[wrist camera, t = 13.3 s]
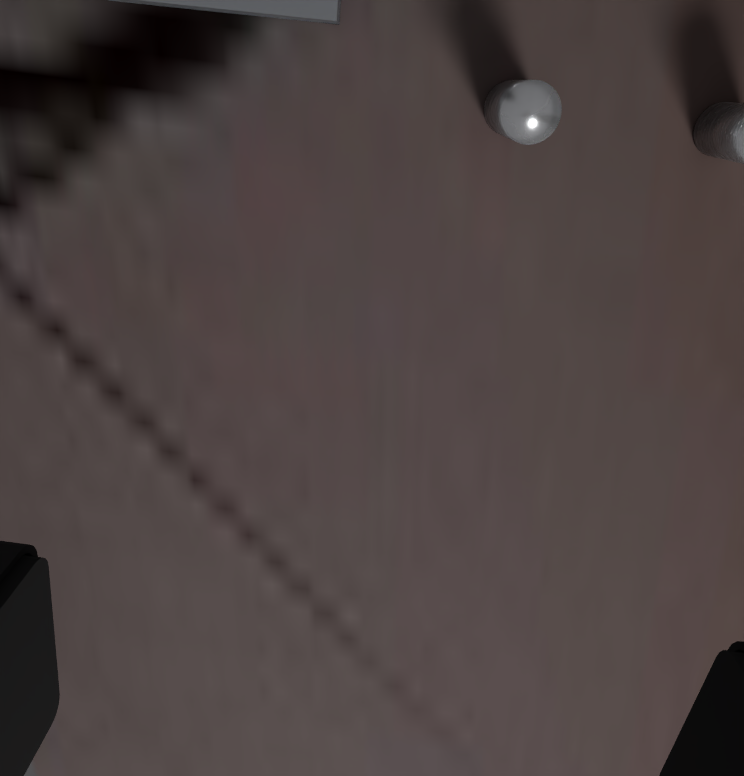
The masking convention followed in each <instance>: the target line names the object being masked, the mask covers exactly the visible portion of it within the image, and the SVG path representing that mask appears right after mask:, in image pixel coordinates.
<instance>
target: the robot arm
mask: <svg viewBox="0 0 744 776" xmlns="http://www.w3.org/2000/svg"><path fill="white" fill-rule="evenodd" d="M59 695H60V693H59V682H58V670H57V659H56V647H55V635H54V624H53V612H52V601H51V589H50V578H49V566H48V562H47V560H46V559H45V558H41V557H38V555H37V551H36V549H35V547H34V546H32V545H28V544H20V543H13V542H5V541H0V776H24V774H25V772H26V770H27V769H28V767H29V765H30V763H31V761H32V760H33V758H34V756H35V754H36V752H37V750H38V749H39V747H40V745H41V743H42V741H43V739H44V738H45V736H46V734H47V732H48V730H49V728H50V727H51V725H52V723H53V720H54V718H55V715H56V712H57V709H58V705H59ZM660 776H744V642H739V641H737V642H735V643H733V644H732V645H731V646H730V647H729V649H728V650H723V651H721V652H719V654H718V655H717V657H716V659H715V661H714V663H713V665H712V667H711V669H710V671H709V673H708V675H707V677H706V679H705V681H704V684H703V686H702V688H701V690H700V692H699V694H698V696H697V698H696V700H695V702H694V704H693V706H692V708H691V710H690V713H689V715H688V717H687V719H686V721H685V723H684V725H683V727H682V729H681V731H680V733H679V735H678V737H677V739H676V742H675V744H674V746H673V748H672V750H671V752H670V754H669V756H668V758H667V760H666V762H665V764H664V766H663V768H662V771H661V773H660Z"/></svg>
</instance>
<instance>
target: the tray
mask: <svg viewBox="0 0 744 776" xmlns="http://www.w3.org/2000/svg"><path fill="white" fill-rule="evenodd" d="M110 1H119V2H129V3H138V4H148V5H157V6H167V7H176V8H186V9H195V10H205V11H214V12H224V13H233V14H243V15H252V16H262V17H271V18H281V19H291V20H300V21H310V22H319V23H329V24H338V25H339V22H340V6H341V0H110Z"/></svg>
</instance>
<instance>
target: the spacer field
mask: <svg viewBox="0 0 744 776" xmlns="http://www.w3.org/2000/svg"><path fill="white" fill-rule="evenodd" d="M484 116H485V120H486V122H487V124H488V125H489V127H490V128H491V129H492V130H493V131H495V132H496V133H498V134H500V135H503V136H505V137H507V138H509V139H511V140H513V141H516V142H518V143H521V144H525V145H531V144H536V143H539V142H541V141H543V140H545V139H546V138H548V137H549V136H550V135H551V134H552V133H553V132H554V130H555V129H556V127H557V125H558V123H559V121H560V117H561V101H560V98H559V95H558V94H557V92H556V91H555V89H554V88H553V87H552V86H551V85H549V84H548V83H546V82H543V81H540V80H507V81H503V82H501V83H499V84H497V85H496V86H495V87H494V88H493V89H492V90H491V91H490V92H489V94H488V96H487V98H486V100H485V104H484ZM693 139H694V143H695V145H696V147H697V149H698V150H699V151H700V152H702V153H703V154H705V155H708V156H712V157H716V158H720V159H725V160H729V161H733V162H738V163H742V164H744V103H734V102H720V103H716V104H713V105H712V106H710V107H708V108H707V109H706V110H704V111H703V112H702V114H701V115H700V116H699V118H698V119H697V121H696V123H695V126H694V130H693Z"/></svg>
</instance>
